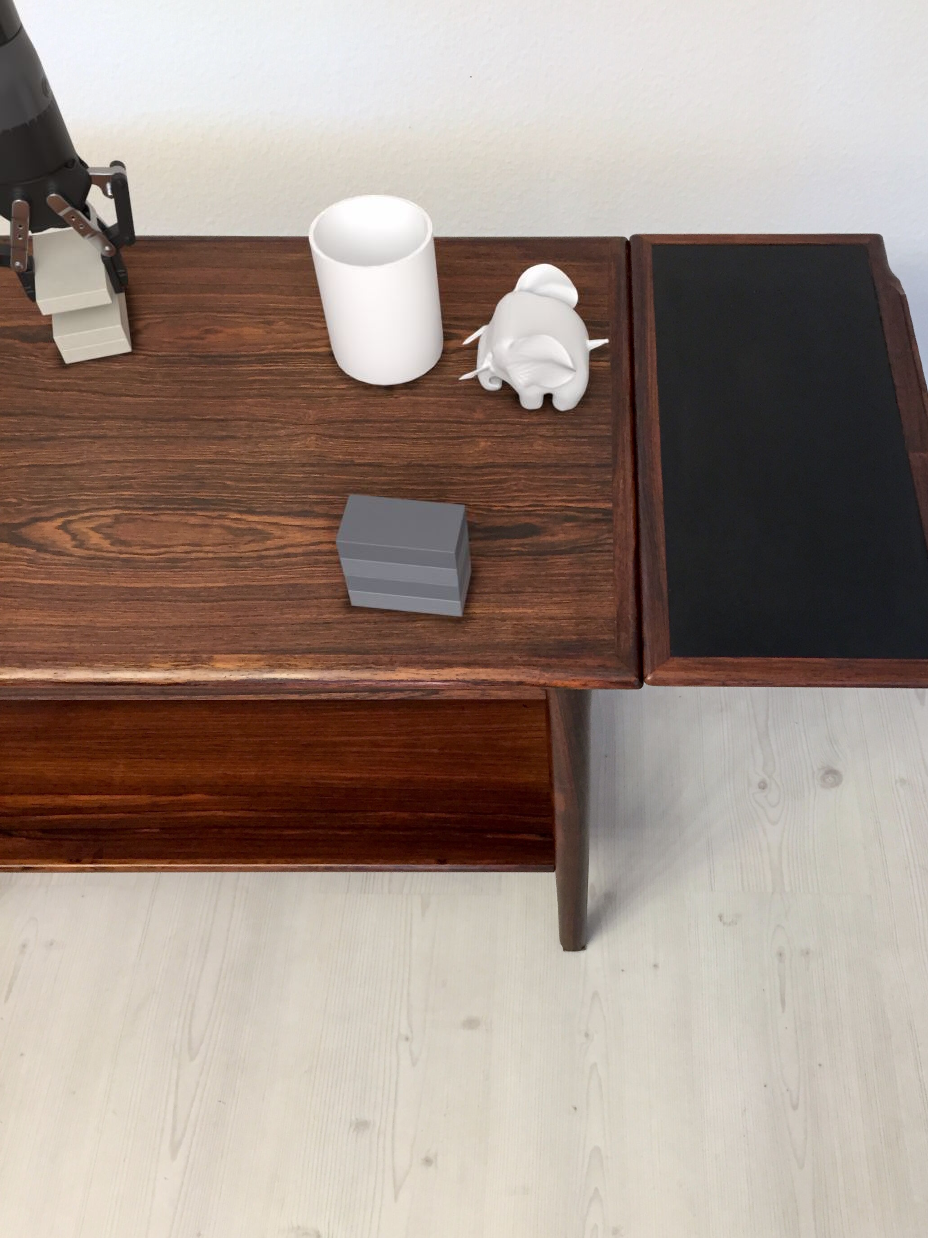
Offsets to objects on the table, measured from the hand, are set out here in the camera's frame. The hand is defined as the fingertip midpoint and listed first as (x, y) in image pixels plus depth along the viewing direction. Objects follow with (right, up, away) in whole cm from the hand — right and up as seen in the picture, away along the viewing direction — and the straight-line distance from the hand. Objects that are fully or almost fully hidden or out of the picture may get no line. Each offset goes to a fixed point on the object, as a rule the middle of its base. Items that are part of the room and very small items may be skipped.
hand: (82, 293), depth 90 cm
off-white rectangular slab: (0, +1, -1) cm, 2 cm away
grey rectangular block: (+30, -26, -13) cm, 42 cm away
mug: (+26, -4, +2) cm, 26 cm away
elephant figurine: (+38, -8, -1) cm, 39 cm away
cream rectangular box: (0, -2, +3) cm, 3 cm away
